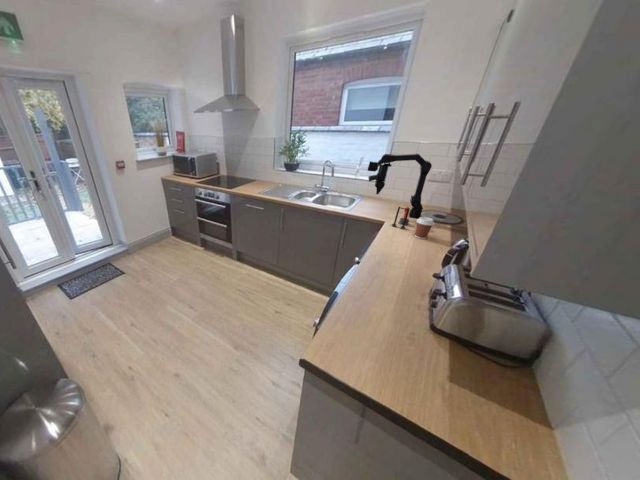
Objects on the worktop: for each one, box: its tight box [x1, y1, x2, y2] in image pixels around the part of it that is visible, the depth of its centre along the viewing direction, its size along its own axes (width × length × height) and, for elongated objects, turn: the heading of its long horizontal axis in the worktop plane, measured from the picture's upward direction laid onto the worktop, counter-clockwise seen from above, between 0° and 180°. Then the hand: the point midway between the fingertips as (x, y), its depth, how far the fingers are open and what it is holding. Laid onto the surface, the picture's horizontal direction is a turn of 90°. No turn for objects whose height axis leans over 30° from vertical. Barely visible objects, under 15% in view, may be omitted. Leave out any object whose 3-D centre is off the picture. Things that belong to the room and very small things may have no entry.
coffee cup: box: [413, 216, 435, 240], centre depth 157 cm, size 9×9×12 cm
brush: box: [398, 206, 411, 226], centre depth 174 cm, size 6×5×12 cm
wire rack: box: [391, 206, 410, 230], centre depth 170 cm, size 2×8×14 cm, turn 39°
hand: (377, 192), depth 194 cm, fingers open, 9 cm apart
